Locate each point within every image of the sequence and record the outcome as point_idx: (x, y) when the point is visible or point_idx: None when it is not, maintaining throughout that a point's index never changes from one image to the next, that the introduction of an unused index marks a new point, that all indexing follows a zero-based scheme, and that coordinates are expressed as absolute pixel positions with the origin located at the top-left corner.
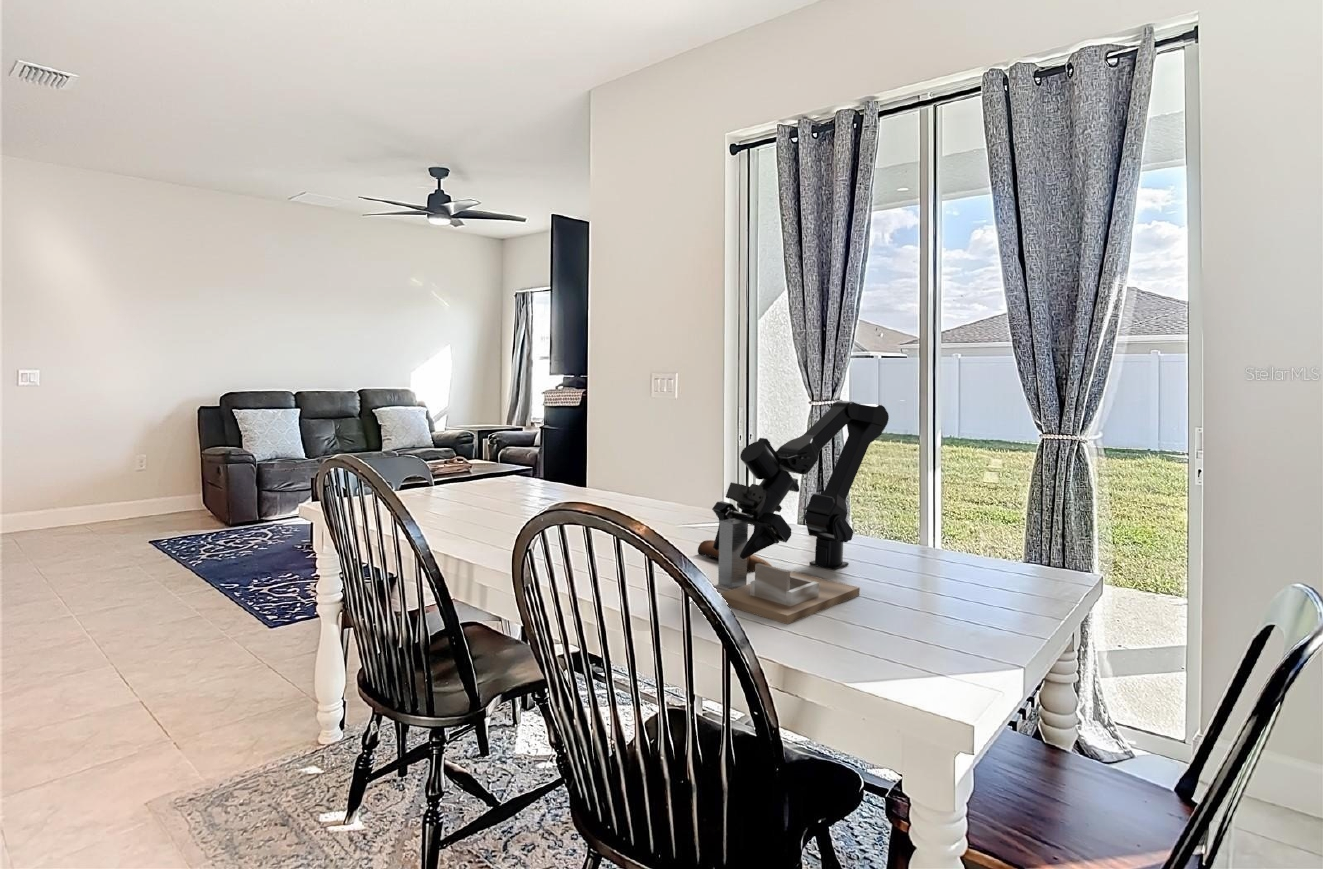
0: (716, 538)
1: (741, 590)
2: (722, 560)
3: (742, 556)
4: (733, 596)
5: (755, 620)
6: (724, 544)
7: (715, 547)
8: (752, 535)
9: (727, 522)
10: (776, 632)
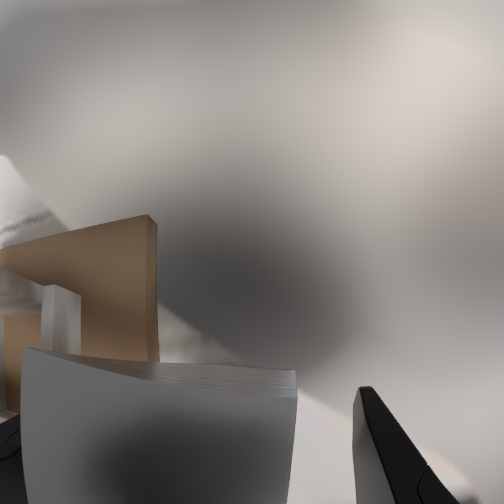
0: (391, 429)
1: (118, 307)
2: (262, 371)
3: None
4: (103, 244)
5: (41, 222)
6: (228, 372)
7: (357, 397)
8: (18, 441)
9: (111, 386)
10: (6, 214)
